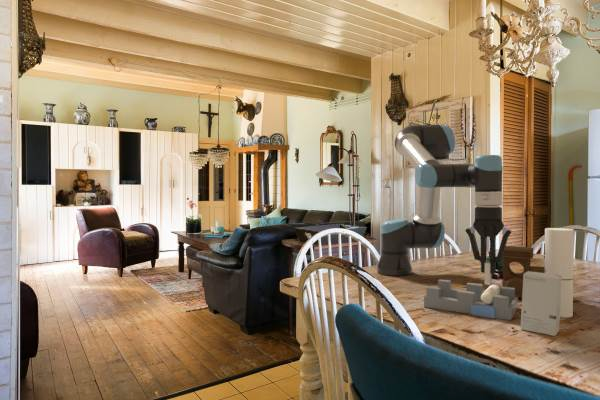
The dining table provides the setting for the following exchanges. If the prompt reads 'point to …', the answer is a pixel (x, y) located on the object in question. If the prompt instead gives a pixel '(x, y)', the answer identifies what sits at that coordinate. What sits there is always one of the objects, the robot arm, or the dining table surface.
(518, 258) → the wooden toy train
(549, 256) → the cylindrical container
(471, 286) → the grey notched frame
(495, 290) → the cream round-ended rod
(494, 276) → the binoculars
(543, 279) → the skincare box
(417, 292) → the dining table surface
